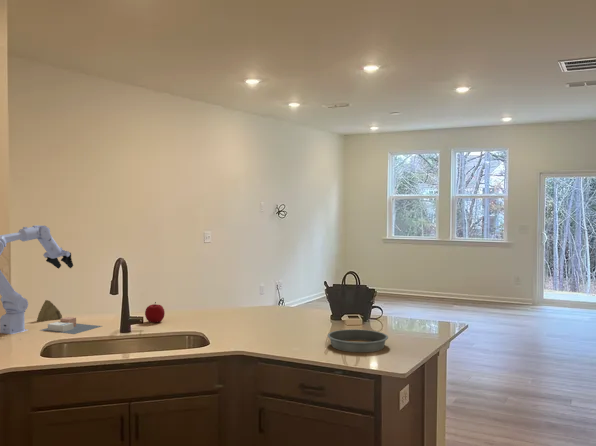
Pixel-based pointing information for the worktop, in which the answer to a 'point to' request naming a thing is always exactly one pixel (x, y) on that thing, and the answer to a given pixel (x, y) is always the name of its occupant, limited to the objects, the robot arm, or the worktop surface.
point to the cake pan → (355, 334)
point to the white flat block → (60, 326)
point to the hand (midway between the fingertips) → (65, 267)
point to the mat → (76, 329)
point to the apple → (154, 313)
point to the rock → (49, 312)
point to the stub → (69, 320)
